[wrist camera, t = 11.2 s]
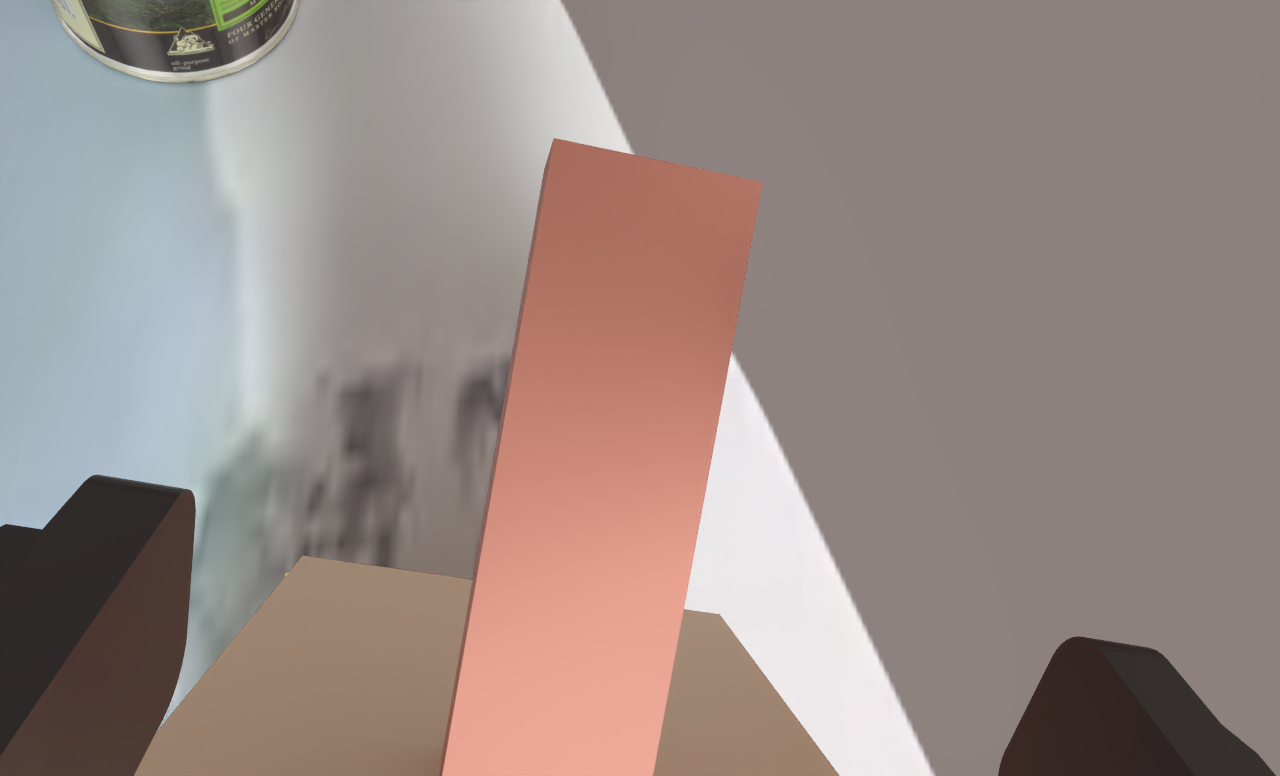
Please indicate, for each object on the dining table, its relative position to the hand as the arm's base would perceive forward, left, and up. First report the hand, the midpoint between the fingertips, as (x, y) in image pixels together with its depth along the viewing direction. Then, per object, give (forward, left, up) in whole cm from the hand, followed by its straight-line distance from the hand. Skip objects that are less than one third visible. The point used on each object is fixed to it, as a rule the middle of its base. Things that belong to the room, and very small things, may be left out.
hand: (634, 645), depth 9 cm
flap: (0, 0, -14) cm, 14 cm away
